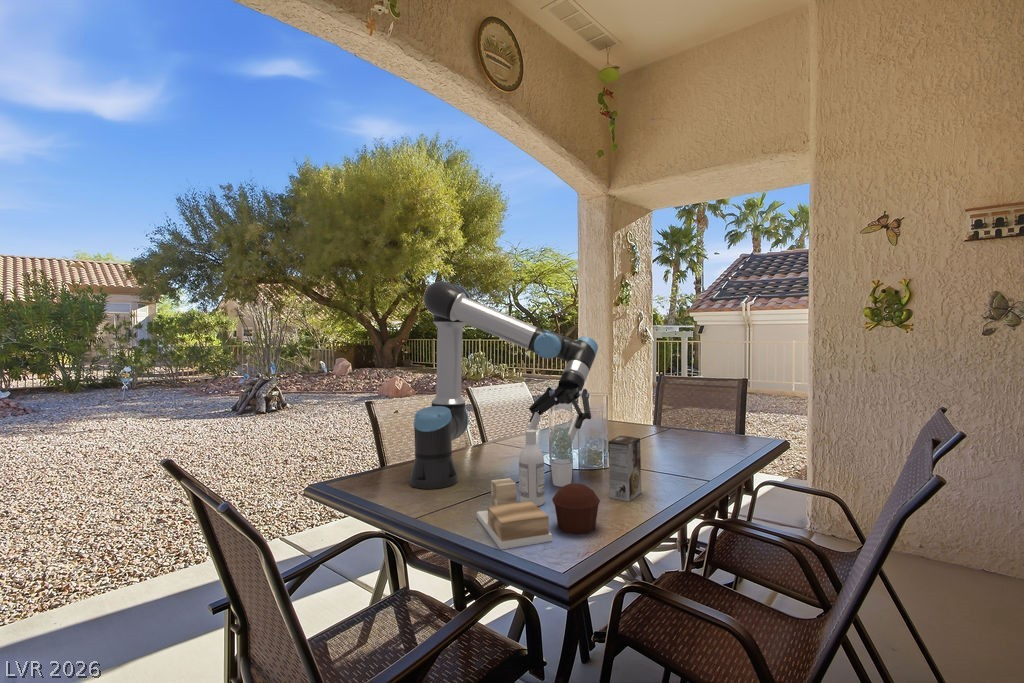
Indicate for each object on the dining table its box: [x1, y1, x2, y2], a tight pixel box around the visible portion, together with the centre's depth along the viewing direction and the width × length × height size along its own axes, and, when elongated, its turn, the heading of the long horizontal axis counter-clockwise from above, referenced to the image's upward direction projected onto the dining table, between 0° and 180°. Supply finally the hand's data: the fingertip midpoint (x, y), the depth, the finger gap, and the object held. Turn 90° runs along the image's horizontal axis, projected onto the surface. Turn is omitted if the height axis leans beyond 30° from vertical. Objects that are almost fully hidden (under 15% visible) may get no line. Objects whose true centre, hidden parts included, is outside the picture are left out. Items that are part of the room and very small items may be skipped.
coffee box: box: [607, 435, 642, 502], centre depth 138 cm, size 9×6×16 cm
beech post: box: [490, 477, 518, 506], centre depth 121 cm, size 5×5×8 cm
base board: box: [476, 509, 553, 550], centre depth 115 cm, size 20×12×2 cm, turn 19°
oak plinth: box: [487, 501, 550, 541], centre depth 111 cm, size 11×11×4 cm
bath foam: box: [518, 429, 546, 507], centre depth 133 cm, size 7×7×20 cm
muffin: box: [551, 482, 601, 536], centre depth 115 cm, size 12×11×10 cm
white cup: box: [550, 458, 574, 488], centre depth 150 cm, size 7×7×7 cm
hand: (549, 434), depth 139 cm, fingers open, 13 cm apart
